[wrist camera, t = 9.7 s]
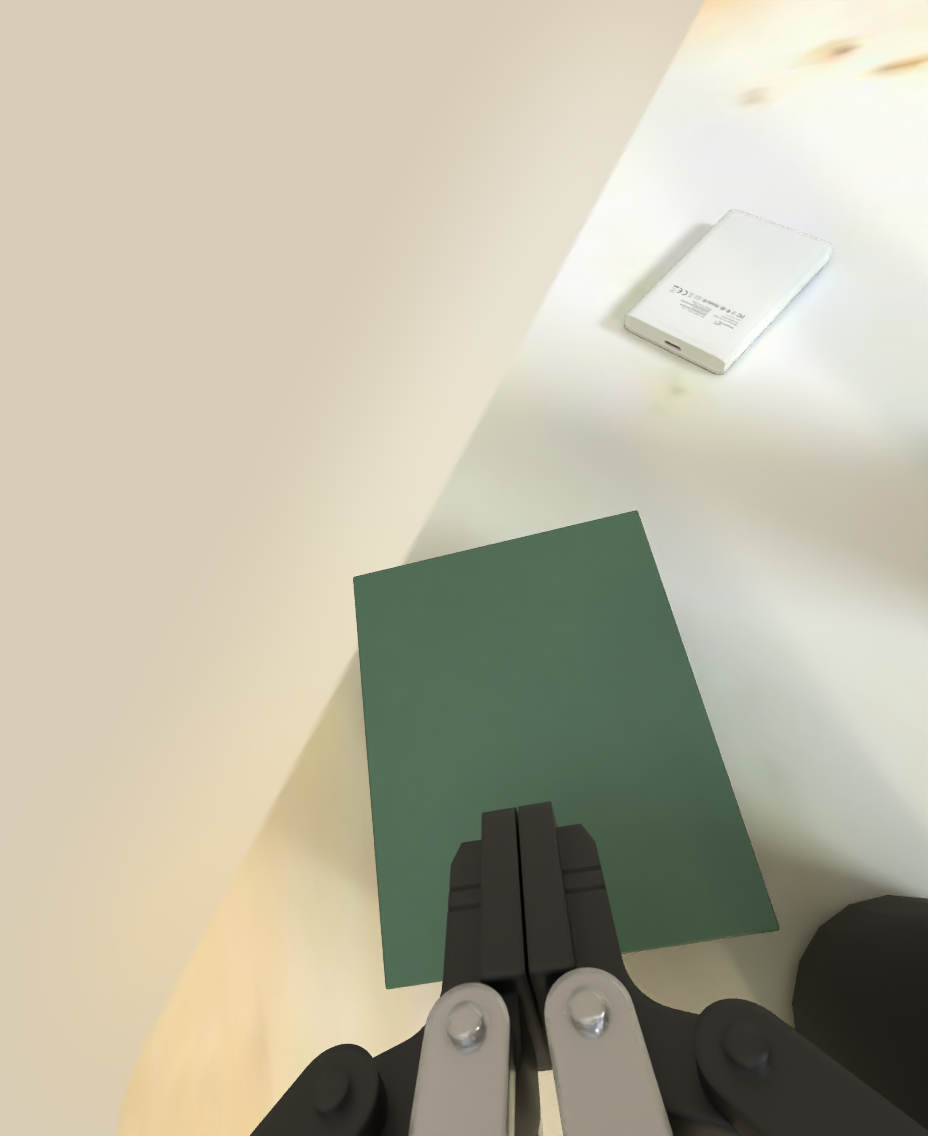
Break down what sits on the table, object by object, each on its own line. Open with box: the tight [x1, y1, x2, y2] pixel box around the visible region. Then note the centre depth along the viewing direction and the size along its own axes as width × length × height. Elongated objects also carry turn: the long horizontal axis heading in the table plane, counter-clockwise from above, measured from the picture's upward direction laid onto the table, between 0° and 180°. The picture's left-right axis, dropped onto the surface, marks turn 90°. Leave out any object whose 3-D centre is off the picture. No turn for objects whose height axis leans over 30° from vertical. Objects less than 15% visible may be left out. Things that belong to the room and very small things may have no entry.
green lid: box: [353, 511, 779, 989], centre depth 24 cm, size 16×14×1 cm
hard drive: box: [624, 210, 834, 375], centre depth 42 cm, size 2×8×12 cm
